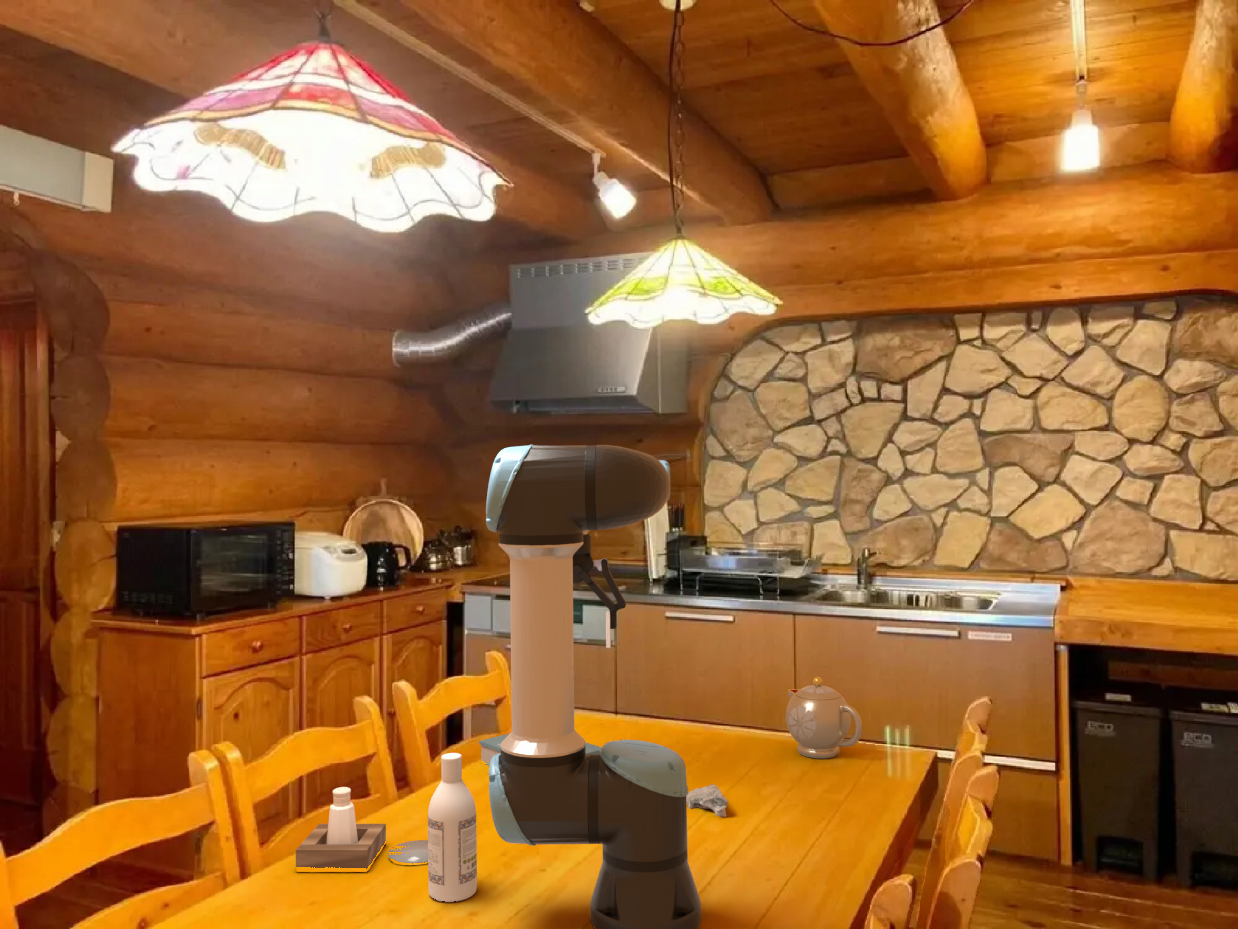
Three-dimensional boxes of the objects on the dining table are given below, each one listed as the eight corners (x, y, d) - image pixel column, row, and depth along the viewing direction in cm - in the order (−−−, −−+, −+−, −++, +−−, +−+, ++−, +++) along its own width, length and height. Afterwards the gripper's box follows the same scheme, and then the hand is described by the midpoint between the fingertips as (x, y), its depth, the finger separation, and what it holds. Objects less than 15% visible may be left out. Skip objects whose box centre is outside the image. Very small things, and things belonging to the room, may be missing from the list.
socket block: (367, 873, 151) (367, 850, 151) (295, 873, 151) (295, 850, 151) (386, 845, 162) (385, 823, 162) (319, 845, 162) (319, 823, 162)
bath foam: (478, 881, 147) (476, 747, 147) (475, 902, 141) (474, 761, 141) (430, 884, 147) (429, 749, 147) (426, 905, 140) (425, 763, 140)
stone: (694, 823, 172) (694, 799, 172) (679, 798, 184) (679, 775, 184) (730, 821, 173) (730, 798, 173) (713, 796, 185) (713, 774, 185)
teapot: (770, 753, 210) (769, 676, 210) (806, 740, 220) (806, 667, 220) (844, 771, 198) (843, 690, 198) (879, 756, 208) (878, 678, 208)
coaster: (439, 866, 153) (439, 862, 153) (381, 866, 153) (381, 862, 153) (450, 844, 162) (450, 840, 162) (395, 844, 162) (395, 840, 162)
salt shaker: (363, 851, 159) (362, 783, 159) (355, 865, 154) (355, 794, 154) (329, 852, 159) (328, 784, 159) (320, 866, 154) (319, 795, 154)
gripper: (637, 531, 188) (639, 642, 188) (507, 532, 188) (508, 643, 188) (637, 533, 180) (638, 650, 180) (501, 535, 181) (502, 651, 181)
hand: (572, 647), depth 184 cm, fingers open, 13 cm apart
